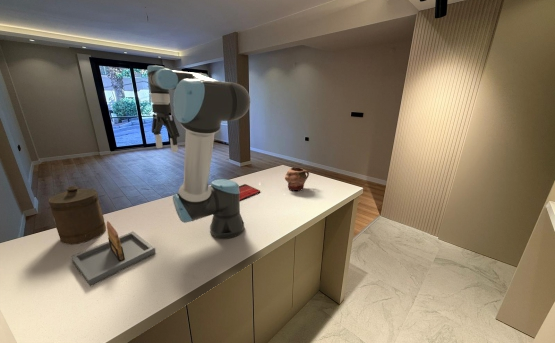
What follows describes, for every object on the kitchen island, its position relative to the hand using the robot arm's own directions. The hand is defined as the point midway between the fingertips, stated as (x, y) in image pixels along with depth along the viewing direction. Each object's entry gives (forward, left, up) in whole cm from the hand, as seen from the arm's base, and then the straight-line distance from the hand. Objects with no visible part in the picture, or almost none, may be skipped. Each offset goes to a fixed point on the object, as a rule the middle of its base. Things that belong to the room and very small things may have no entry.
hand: (167, 149), depth 106 cm
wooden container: (+10, +35, -33) cm, 49 cm away
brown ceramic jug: (-34, -69, -33) cm, 84 cm away
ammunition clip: (-16, +32, -32) cm, 48 cm away
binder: (-11, -39, -34) cm, 52 cm away
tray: (-17, +33, -33) cm, 49 cm away
